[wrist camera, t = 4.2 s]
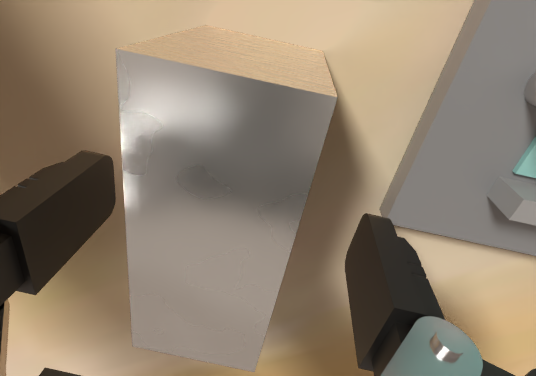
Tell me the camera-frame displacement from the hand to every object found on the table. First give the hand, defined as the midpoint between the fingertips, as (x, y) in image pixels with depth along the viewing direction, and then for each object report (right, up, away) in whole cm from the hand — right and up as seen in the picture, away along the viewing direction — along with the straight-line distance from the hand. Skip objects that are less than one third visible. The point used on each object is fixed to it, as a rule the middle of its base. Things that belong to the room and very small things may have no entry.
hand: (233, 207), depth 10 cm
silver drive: (0, +2, +3) cm, 4 cm away
